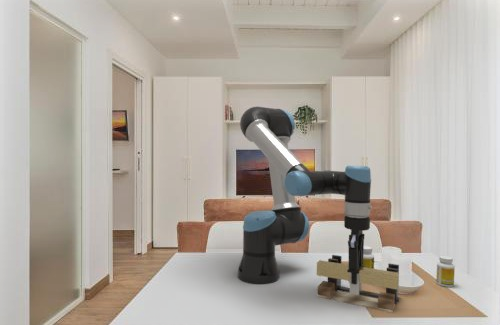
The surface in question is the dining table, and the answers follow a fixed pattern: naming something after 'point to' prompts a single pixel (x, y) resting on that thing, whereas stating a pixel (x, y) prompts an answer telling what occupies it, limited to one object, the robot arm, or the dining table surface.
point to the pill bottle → (368, 257)
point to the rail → (366, 274)
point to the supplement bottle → (445, 272)
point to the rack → (338, 287)
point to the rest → (357, 297)
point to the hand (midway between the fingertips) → (355, 291)
